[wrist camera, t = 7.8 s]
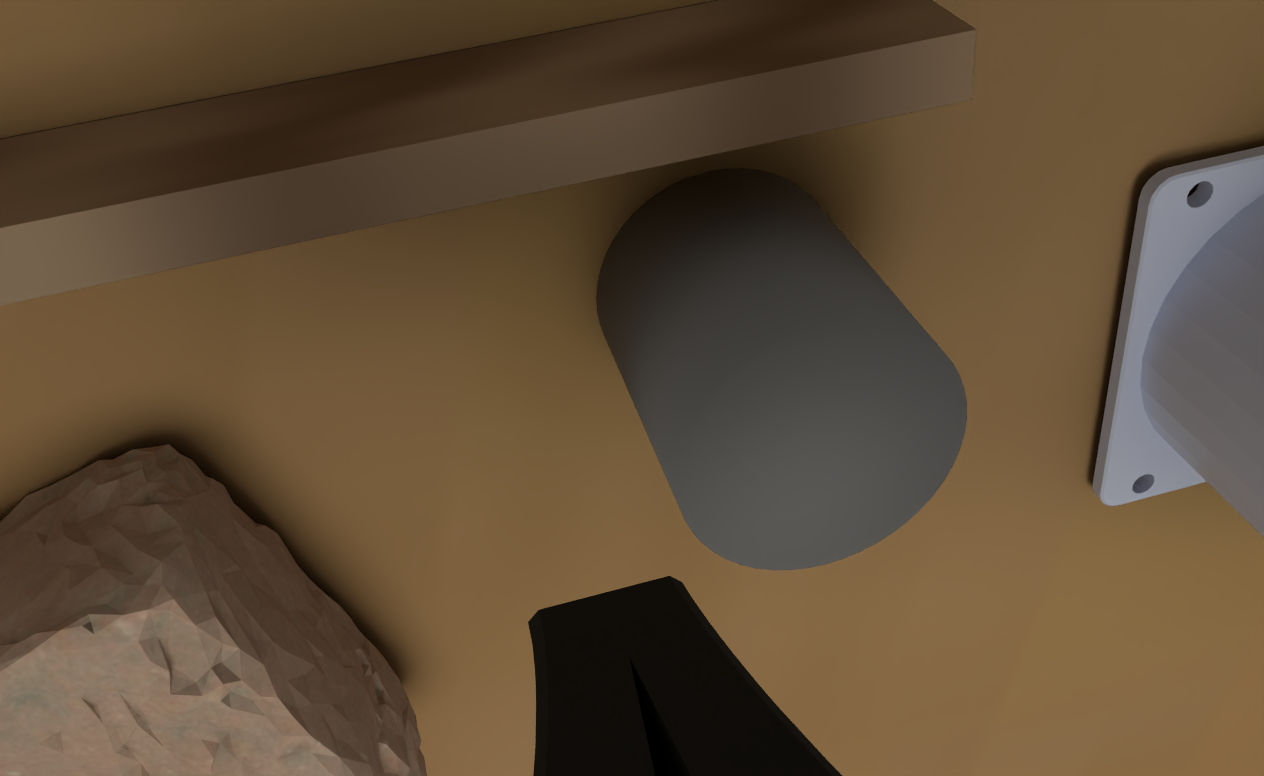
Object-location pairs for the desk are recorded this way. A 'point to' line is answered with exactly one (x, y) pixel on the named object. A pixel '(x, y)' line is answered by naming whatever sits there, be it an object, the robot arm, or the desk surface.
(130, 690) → the brick
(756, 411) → the grey cylinder
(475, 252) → the desk surface
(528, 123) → the brown wooden frame
